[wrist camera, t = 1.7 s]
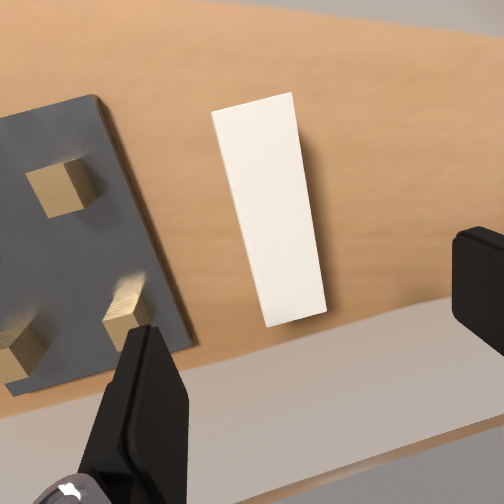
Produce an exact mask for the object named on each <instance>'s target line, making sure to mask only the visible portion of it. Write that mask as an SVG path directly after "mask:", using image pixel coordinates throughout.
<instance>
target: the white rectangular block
mask: <svg viewBox="0 0 504 504" xmlns="http://www.w3.org/2000/svg"><path fill="white" fill-rule="evenodd" d="M211 117H212V121H213V125H214V129H215V133H216V137H217V141H218V144H219V148H220V152H221V156H222V160H223V164H224V168H225V172H226V175H227V179H228V183H229V187H230V191H231V195H232V199H233V203H234V206H235V210H236V214H237V218H238V222H239V226H240V230H241V234H242V237H243V241H244V245H245V249H246V253H247V257H248V261H249V265H250V268H251V272H252V276H253V280H254V284H255V288H256V292H257V295H258V299H259V302H260V306H261V309H262V313H263V316H264V320H265V323H266V327H271V326H275V325H278V324H282V323H286V322H289V321H293V320H297V319H300V318H304V317H308V316H312V315H315V314H319V313H323V312H326V311H327V309H326V303H325V297H324V291H323V284H322V278H321V272H320V266H319V260H318V254H317V247H316V241H315V235H314V229H313V223H312V217H311V210H310V204H309V198H308V192H307V186H306V180H305V173H304V167H303V161H302V155H301V149H300V143H299V136H298V130H297V124H296V118H295V112H294V106H293V99H292V93H291V92H289V93H285V94H281V95H277V96H273V97H269V98H265V99H261V100H257V101H253V102H249V103H245V104H241V105H237V106H233V107H229V108H225V109H221V110H217V111H213V112H211Z"/></svg>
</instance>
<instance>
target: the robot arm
mask: <svg viewBox="0 0 504 504" xmlns="http://www.w3.org/2000/svg"><path fill="white" fill-rule="evenodd" d="M452 312H453V315H454V317H455V318H456V319H457V320H458V321H459V322H460V323H462V324H463V325H464V326H465V327H466V328H468V329H469V330H471V331H472V332H473V333H474V334H476V335H477V336H478V337H479V338H481V339H482V340H483V341H484V342H486V343H487V344H488V345H490V346H491V347H492V348H493V349H495V350H496V351H497V352H499V353H500V354H501V355H502V356H504V235H502V234H499V233H497V232H494V231H492V230H489V229H486V228H484V227H480V226H477V227H473V228H470V229H467V230H463V231H460V232H459V233H457V235H456V238H454V239H453V242H452ZM188 423H189V398H188V394H187V391H186V388H185V386H184V384H183V382H182V379H181V377H180V375H179V372H178V370H177V368H176V366H175V363H174V361H173V359H172V357H171V354H170V352H169V350H168V348H167V345H166V343H165V341H164V338H163V336H162V334H161V332H160V330H159V328H158V327H157V326H156V327H152V326H151V325H150V324H145V325H142V326H139V327H135V328H132V329H129V331H128V334H127V337H126V340H125V343H124V346H123V349H122V352H121V356H120V359H119V362H118V365H117V368H116V371H115V374H114V377H113V380H112V382H110V383H109V384H108V385H107V387H106V389H105V392H104V395H103V398H102V401H101V404H100V407H99V410H98V413H97V416H96V419H95V422H94V425H93V428H92V431H91V433H90V436H89V440H88V442H87V445H86V448H85V451H84V454H83V457H82V460H81V463H80V466H79V469H78V472H77V474H72V475H68V476H66V477H64V478H62V479H60V480H58V481H57V482H55V483H54V484H53V485H51V486H50V487H49V488H47V489H46V490H45V491H44V492H43V493H42V494H41V495H40V496H39V497H38V498H37V499H36V500H35V501H34V502H33V504H186V496H187V462H188V426H189V424H188ZM235 504H504V414H502V415H499V416H496V417H493V418H490V419H486V420H483V421H480V422H477V423H474V424H471V425H468V426H465V427H462V428H459V429H456V430H453V431H450V432H446V433H443V434H441V435H437V436H434V437H431V438H429V439H425V440H422V441H419V442H416V443H413V444H410V445H407V446H404V447H401V448H398V449H395V450H392V451H389V452H385V453H382V454H379V455H376V456H374V457H370V458H367V459H364V460H361V461H358V462H355V463H352V464H349V465H347V466H343V467H340V468H337V469H334V470H332V471H329V472H325V473H322V474H319V475H316V476H313V477H310V478H307V479H304V480H301V481H298V482H295V483H292V484H289V485H286V486H283V487H280V488H277V489H274V490H271V491H269V492H266V493H263V494H260V495H257V496H254V497H251V498H249V499H246V500H243V501H240V502H237V503H235Z"/></svg>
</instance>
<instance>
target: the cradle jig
mask: <svg viewBox="0 0 504 504" xmlns="http://www.w3.org/2000/svg"><path fill="white" fill-rule="evenodd" d="M145 324H150V325H151V326H152V327H156V326H157V327H158V328H159V330H160V332H161V334H162V336H163V338H164V341H165V343H166V345H167V348H168V350H169V352H174V351H177V350H181V349H184V348H188V347H191V346H192V336H191V333H190V331H189V328H188V326H187V323H186V320H185V318H184V315H183V313H182V310H181V308H180V305H179V303H178V300H177V298H176V295H175V293H174V290H173V287H172V285H171V282H170V280H169V277H168V275H167V272H166V270H165V267H164V265H163V262H162V260H161V257H160V255H159V252H158V249H157V247H156V244H155V242H154V239H153V237H152V234H151V232H150V229H149V227H148V224H147V222H146V219H145V216H144V214H143V211H142V209H141V206H140V204H139V201H138V199H137V196H136V194H135V191H134V189H133V186H132V183H131V181H130V178H129V176H128V173H127V171H126V168H125V166H124V163H123V161H122V158H121V156H120V153H119V150H118V148H117V145H116V143H115V140H114V138H113V135H112V133H111V130H110V128H109V125H108V123H107V120H106V117H105V115H104V112H103V110H102V107H101V105H100V102H99V100H98V97H97V95H93V94H90V95H86V96H82V97H78V98H75V99H71V100H67V101H63V102H59V103H56V104H52V105H48V106H44V107H41V108H37V109H33V110H29V111H25V112H22V113H18V114H14V115H10V116H6V117H3V118H0V385H2V384H4V385H5V386H6V387H7V389H8V390H9V391H10V393H11V394H12V395H13V397H15V396H18V395H22V394H25V393H29V392H32V391H36V390H40V389H43V388H47V387H50V386H54V385H57V384H61V383H64V382H68V381H71V380H75V379H78V378H82V377H85V376H89V375H92V374H96V373H99V372H103V371H107V370H110V369H114V368H117V365H118V362H119V359H120V356H121V352H122V349H123V346H124V343H125V340H126V337H127V334H128V331H129V329H132V328H135V327H139V326H142V325H145Z"/></svg>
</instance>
